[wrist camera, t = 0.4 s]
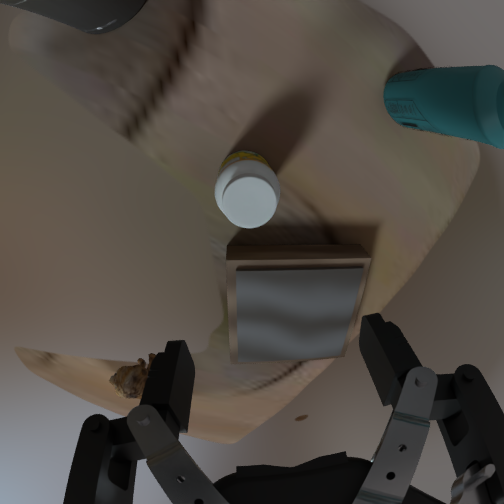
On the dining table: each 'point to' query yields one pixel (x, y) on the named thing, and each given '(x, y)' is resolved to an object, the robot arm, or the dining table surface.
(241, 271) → the wooden framed mirror
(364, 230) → the dining table surface
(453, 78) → the beverage bottle
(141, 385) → the lion figurine
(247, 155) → the supplement bottle
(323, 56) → the dining table surface
